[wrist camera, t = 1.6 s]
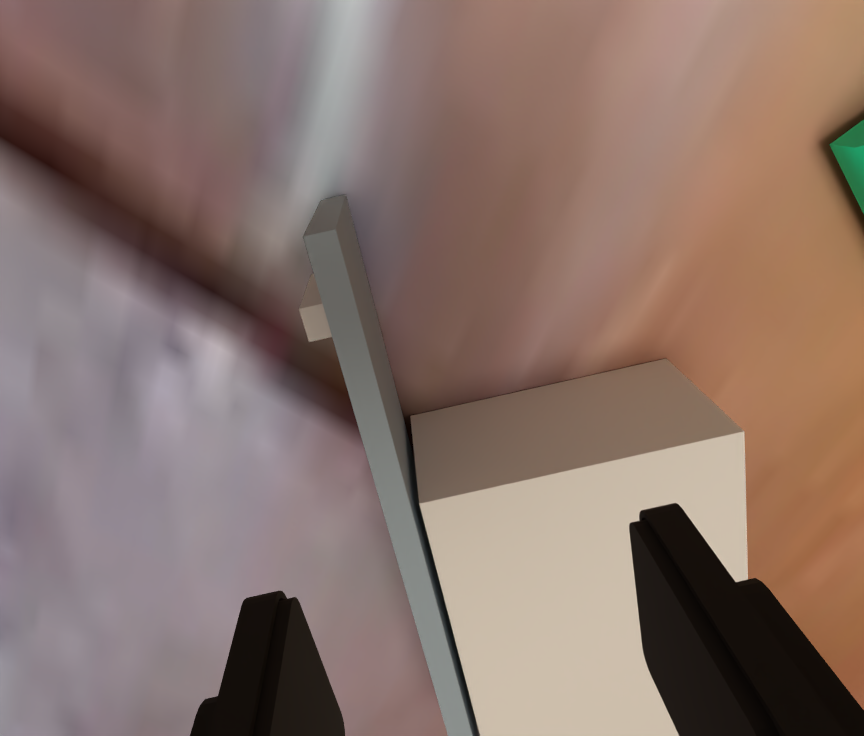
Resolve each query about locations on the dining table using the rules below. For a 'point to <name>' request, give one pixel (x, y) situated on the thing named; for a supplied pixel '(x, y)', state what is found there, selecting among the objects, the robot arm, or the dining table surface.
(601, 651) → the block
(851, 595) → the dining table surface
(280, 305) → the dining table surface
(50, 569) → the dining table surface
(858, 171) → the camera mount
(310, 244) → the side door
